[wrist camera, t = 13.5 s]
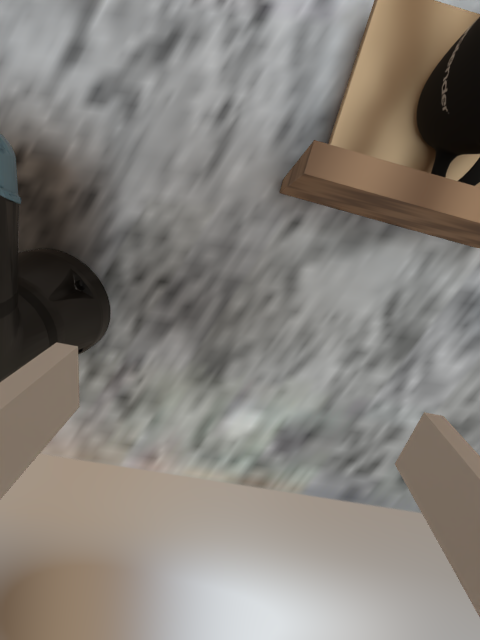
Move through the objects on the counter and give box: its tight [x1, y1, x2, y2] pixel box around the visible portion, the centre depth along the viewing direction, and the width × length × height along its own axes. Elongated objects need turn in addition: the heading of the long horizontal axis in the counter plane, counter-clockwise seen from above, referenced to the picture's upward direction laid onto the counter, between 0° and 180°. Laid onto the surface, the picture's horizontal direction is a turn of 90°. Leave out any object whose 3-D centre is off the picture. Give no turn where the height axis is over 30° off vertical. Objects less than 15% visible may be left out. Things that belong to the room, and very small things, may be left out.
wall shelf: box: [280, 0, 480, 248], centre depth 21 cm, size 24×16×20 cm, turn 76°
